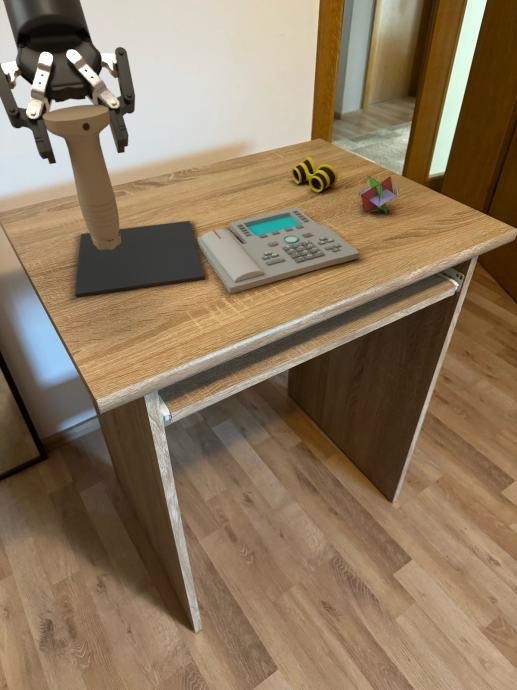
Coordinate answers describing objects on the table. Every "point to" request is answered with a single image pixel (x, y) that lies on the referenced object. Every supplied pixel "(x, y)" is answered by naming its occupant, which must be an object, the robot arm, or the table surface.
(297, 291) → the table surface
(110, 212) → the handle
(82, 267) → the mat
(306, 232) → the office telephone
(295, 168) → the opera glasses
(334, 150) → the table surface
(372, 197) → the geometric puzzle
